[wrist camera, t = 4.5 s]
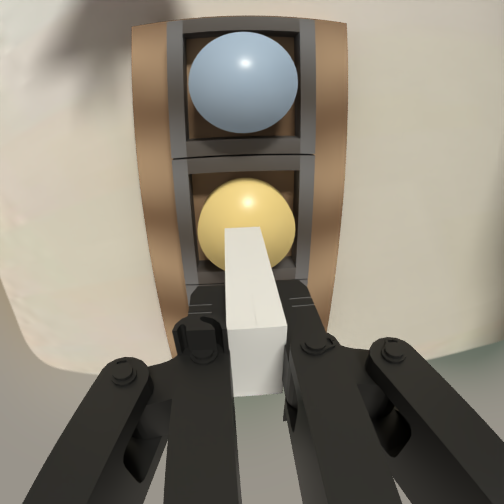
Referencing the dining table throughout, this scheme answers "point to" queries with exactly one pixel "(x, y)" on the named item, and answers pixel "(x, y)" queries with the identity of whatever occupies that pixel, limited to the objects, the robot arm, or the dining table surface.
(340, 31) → the button panel
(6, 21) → the dining table surface
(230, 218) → the button ochre
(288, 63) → the button blue
